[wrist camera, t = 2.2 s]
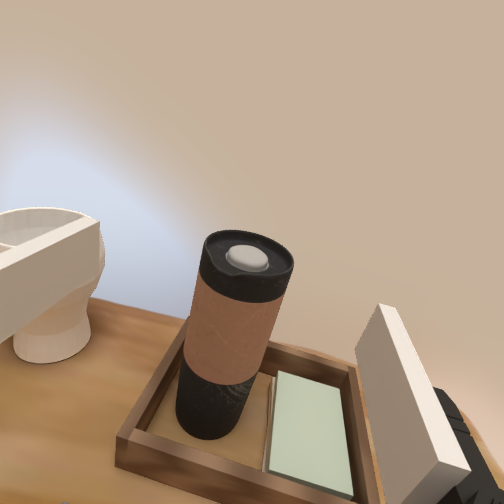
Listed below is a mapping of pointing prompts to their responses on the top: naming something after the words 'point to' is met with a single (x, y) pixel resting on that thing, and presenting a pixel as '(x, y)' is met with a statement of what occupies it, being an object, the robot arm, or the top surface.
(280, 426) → the top offcut
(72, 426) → the top surface
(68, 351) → the cup
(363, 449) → the brown wooden tray
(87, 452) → the top surface
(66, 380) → the top surface
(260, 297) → the travel mug
